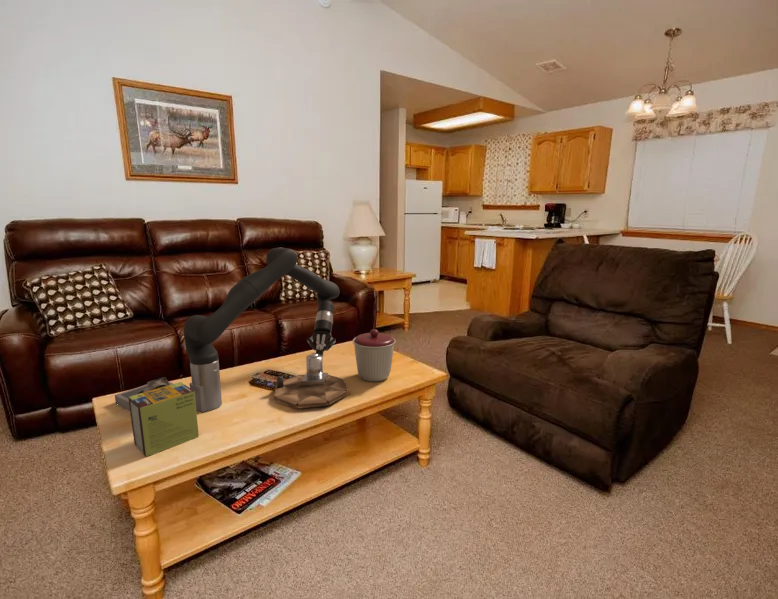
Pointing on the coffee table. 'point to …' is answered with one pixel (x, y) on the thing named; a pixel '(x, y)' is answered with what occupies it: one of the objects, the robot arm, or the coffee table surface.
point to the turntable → (309, 392)
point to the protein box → (163, 418)
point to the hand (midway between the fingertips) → (318, 358)
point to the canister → (374, 355)
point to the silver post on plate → (314, 370)
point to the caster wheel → (156, 384)
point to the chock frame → (123, 397)
